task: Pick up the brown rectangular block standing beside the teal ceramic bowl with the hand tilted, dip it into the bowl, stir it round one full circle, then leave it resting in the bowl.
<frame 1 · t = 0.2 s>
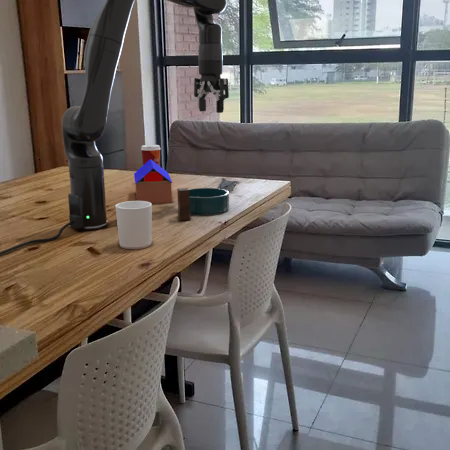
hand: (211, 111, 188), 29 cm above the table, tool pointing down, fingers open, 8 cm apart
brown rectangular block: (184, 219, 173), on the table
bowl: (205, 209, 184), on the table
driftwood: (228, 187, 219), on the table
house: (153, 197, 203), on the table
mug: (135, 244, 150), on the table
paper cup: (152, 182, 231), on the table
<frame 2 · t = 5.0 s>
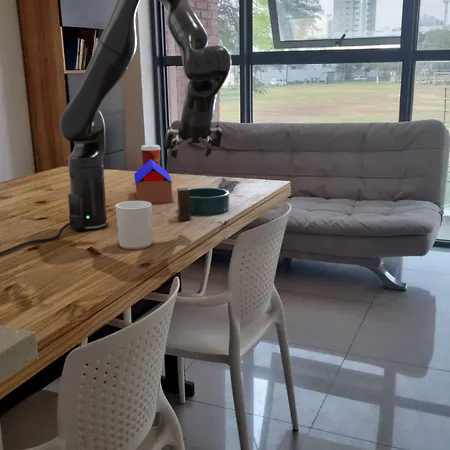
hand: (190, 154, 157), 21 cm above the table, tool tilted 45°, fingers open, 8 cm apart
nothing on the table moved.
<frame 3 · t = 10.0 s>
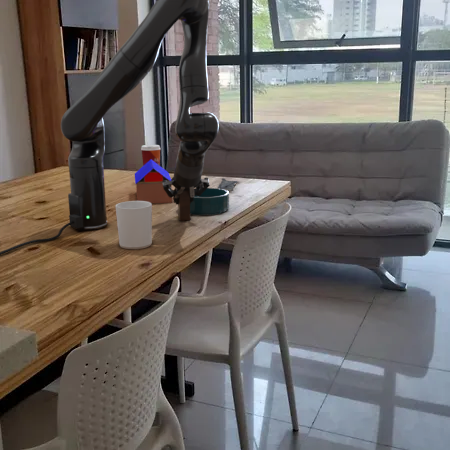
hand: (182, 201, 174), 5 cm above the table, tool tilted 45°, fingers closed on brown rectangular block, 3 cm apart
brown rectangular block: (184, 219, 173), on the table, touching gripper
everything else where it was.
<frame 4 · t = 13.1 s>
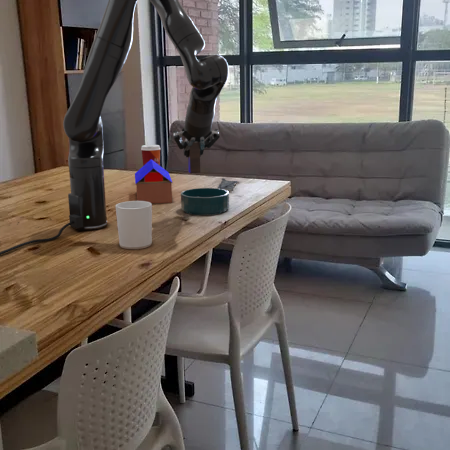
hand: (192, 154, 176), 18 cm above the table, tool tilted 45°, fingers closed on brown rectangular block, 3 cm apart
brown rectangular block: (194, 172, 175), point 13 cm above the table, touching gripper
everything else where it was.
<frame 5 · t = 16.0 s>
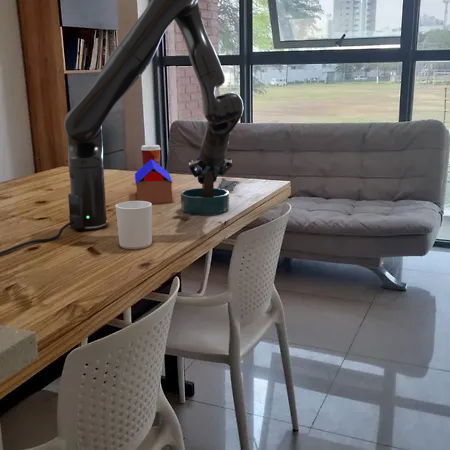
hand: (206, 181, 185), 9 cm above the table, tool tilted 45°, fingers closed on brown rectangular block, 3 cm apart
brown rectangular block: (208, 198, 184), point 4 cm above the table, touching gripper
everything else where it was.
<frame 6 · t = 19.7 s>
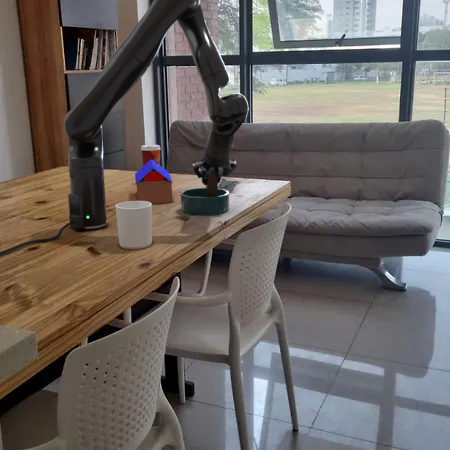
hand: (210, 182, 184), 8 cm above the table, tool tilted 45°, fingers closed on brown rectangular block, 3 cm apart
brown rectangular block: (212, 199, 183), point 3 cm above the table, touching gripper
everything else where it was.
when the fingers open (6 cm above the table, at t = 22.4 s): brown rectangular block stays where it is, resting on bowl.
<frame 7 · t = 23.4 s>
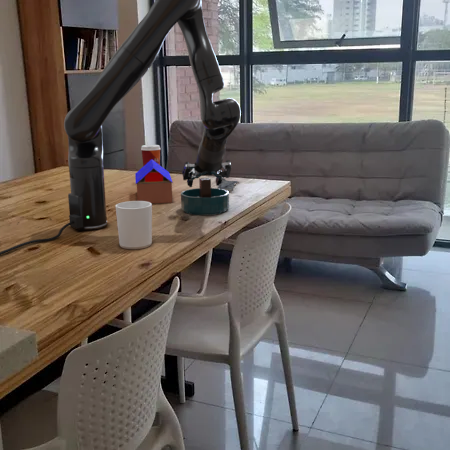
hand: (203, 184, 183), 8 cm above the table, tool tilted 45°, fingers open, 8 cm apart
brown rectangular block: (205, 207, 184), point 1 cm above the table, touching bowl
everything else where it was.
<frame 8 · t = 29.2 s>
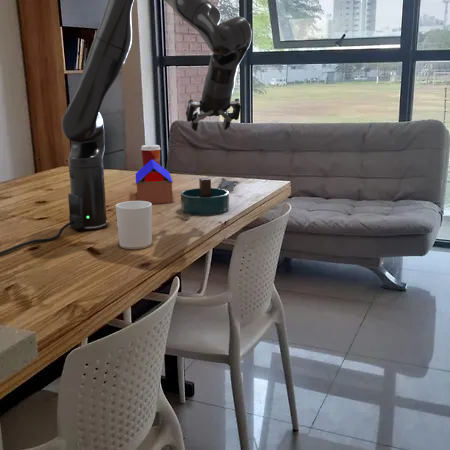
hand: (209, 128, 164), 27 cm above the table, tool tilted 45°, fingers open, 8 cm apart
nothing on the table moved.
at the end: brown rectangular block inside the target area in the bowl (0.1 cm from its centre), point 0.8 cm above the bowl's base; brown rectangular block moved 13.0 cm from its start; the gripper is holding nothing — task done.
